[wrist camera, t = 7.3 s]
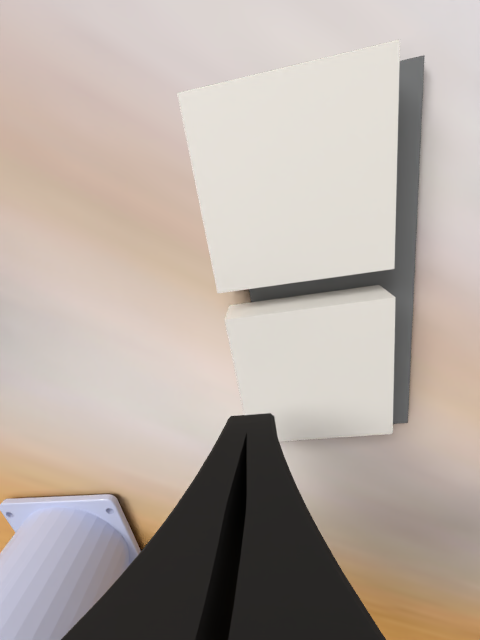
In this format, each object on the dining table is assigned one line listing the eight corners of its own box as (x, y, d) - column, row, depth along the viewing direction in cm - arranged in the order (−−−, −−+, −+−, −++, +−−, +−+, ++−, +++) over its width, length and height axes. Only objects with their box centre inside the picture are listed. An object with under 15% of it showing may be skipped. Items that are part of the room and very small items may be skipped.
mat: (404, 416, 14) (407, 422, 14) (272, 426, 15) (272, 432, 15) (418, 61, 9) (424, 54, 9) (220, 107, 10) (218, 103, 10)
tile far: (251, 418, 15) (378, 407, 14) (249, 443, 13) (392, 434, 12) (229, 304, 12) (378, 284, 12) (224, 319, 11) (395, 297, 10)
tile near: (223, 281, 12) (377, 259, 11) (217, 293, 11) (394, 268, 10) (191, 109, 10) (377, 66, 9) (177, 93, 8) (400, 39, 8)
